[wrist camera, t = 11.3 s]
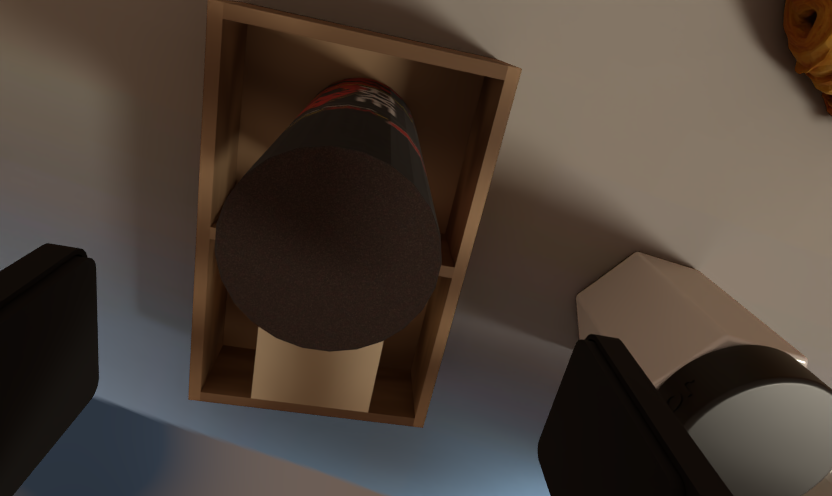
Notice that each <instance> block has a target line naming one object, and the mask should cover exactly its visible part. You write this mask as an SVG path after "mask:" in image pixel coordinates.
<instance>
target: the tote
mask: <svg viewBox="0 0 832 496" xmlns="http://www.w3.org/2000/svg"><path fill="white" fill-rule="evenodd" d="M521 71H522V69H521V68H518V67H516V66H513V65H511V64H508V63H505V62H503V61H500V60H497V59H493V58H489V57H484V56H480V55H475V54H471V53H466V52H462V51H457V50H453V49H448V48H444V47H440V46H435V45H431V44H426V43H422V42H417V41H413V40H408V39H404V38H399V37H395V36H390V35H386V34H382V33H377V32H373V31H368V30H364V29H359V28H355V27H350V26H346V25H341V24H337V23H332V22H328V21H324V20H319V19H315V18H310V17H306V16H301V15H297V14H292V13H288V12H283V11H279V10H275V9H270V8H266V7H261V6H257V5H252V4H248V3H243V2H238V1H227V0H208V6H207V27H206V47H205V68H204V89H203V109H202V130H201V151H200V171H199V192H198V213H197V233H196V254H195V274H194V295H193V316H192V336H191V357H190V378H189V398H188V400H197V401H205V402H213V403H222V404H230V405H238V406H247V407H255V408H263V409H272V410H280V411H288V412H297V413H305V414H313V415H321V416H330V417H338V418H346V419H355V420H363V421H371V422H380V423H388V424H396V425H405V426H413V427H421V428H423V426H424V422H425V418H426V415H427V411H428V407H429V404H430V400H431V397H432V393H433V389H434V386H435V382H436V379H437V375H438V371H439V368H440V364H441V360H442V357H443V353H444V350H445V346H446V342H447V339H448V335H449V331H450V328H451V324H452V321H453V317H454V313H455V310H456V306H457V302H458V299H459V295H460V292H461V288H462V284H463V281H464V277H465V273H466V270H467V266H468V263H469V259H470V255H471V252H472V248H473V244H474V241H475V237H476V234H477V230H478V226H479V223H480V219H481V215H482V212H483V208H484V205H485V201H486V197H487V194H488V190H489V186H490V183H491V179H492V176H493V172H494V168H495V165H496V161H497V157H498V154H499V150H500V147H501V143H502V139H503V136H504V132H505V129H506V125H507V121H508V118H509V114H510V110H511V107H512V103H513V100H514V96H515V92H516V89H517V85H518V81H519V78H520V74H521ZM358 77H362V78H367V79H372V80H377V81H379V82H381V83H383V84H385V85H387V86H388V87H390V88H392V89H393V90H394V91H395V92H396V93H397V94H398V95H399V96H400V97H402V99H403V100H404V102H405V103H406V105H407V106H408V108H409V109H410V111H411V114H412V117H413V120H414V123H415V126H416V131H417V135H418V140H419V144H420V148H421V153H422V157H423V161H424V166H425V170H426V174H427V179H428V183H429V187H430V192H431V196H432V200H433V205H434V209H435V214H436V218H437V222H438V227H439V231H440V235H441V255H442V264H441V268H440V272H439V276H438V280H437V284H436V288H435V290H434V291H433V293H432V295H431V297H430V298H429V300H428V302H427V304H426V305H425V307H424V309H423V310H422V311H421V312H420V313H419V314H418V315H417V316H416V317H415V318H414V319H413V320H412V321H411V322H410V323H409V324H408V325H407V326H406V327H405V328H404V329H402V330H401V331H399V332H397V333H396V334H394V335H392V336H391V337H389V338H387V339H386V340H384V342H383V346H382V351H381V356H380V360H379V365H378V369H377V374H376V378H375V383H374V387H373V392H372V397H371V401H370V406H369V410H368V413H367V412H359V411H351V410H343V409H335V408H327V407H318V406H310V405H302V404H294V403H286V402H278V401H269V400H261V399H253V398H251V393H252V383H253V374H254V365H255V355H256V346H257V337H258V326H257V325H255V324H254V323H253V322H252V321H251V320H250V319H249V318H248V317H247V316H246V315H245V314H244V313H243V312H242V311H241V310H240V309H239V308H238V306H237V305H236V304H235V303H234V302H233V300H232V298H231V296H230V294H229V293H228V291H227V289H226V287H225V285H224V284H223V282H222V280H221V277H220V273H219V269H218V265H217V261H216V257H215V235H216V224H217V221H218V219H219V216H220V213H221V210H222V208H223V205H224V202H225V200H226V198H227V197H228V195H229V194H230V193H231V191H232V190H233V189H234V188H235V186H236V185H237V184H238V182H239V181H240V180H241V178H242V177H243V176H244V175H245V174H246V172H247V171H248V170H249V169H250V168H251V167H252V166H253V165H254V164H255V163H256V161H257V160H258V159H259V158H260V157H261V156H262V155H263V154H264V153H265V152H266V150H267V149H268V148H269V147H270V146H271V145H272V144H273V143H274V142H275V141H276V139H277V138H278V137H279V136H280V135H281V134H282V133H283V132H284V131H285V130H286V128H287V127H288V126H289V125H290V124H291V123H292V122H293V121H294V120H295V118H296V117H297V116H298V115H299V114H300V113H301V112H302V111H303V110H304V109H305V107H306V106H307V105H308V104H309V103H310V102H311V101H312V100H313V99H314V98H315V96H316V95H317V94H318V93H319V92H320V91H322V90H323V89H325V88H326V87H327V86H329V85H330V84H332V83H334V82H337V81H340V80H343V79H345V78H358Z"/></svg>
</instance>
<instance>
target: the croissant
mask: <svg viewBox="0 0 832 496" xmlns="http://www.w3.org/2000/svg"><path fill="white" fill-rule="evenodd" d="M783 27H784V30H785V33H786V34H787V37H788V48H789V49H790V51H791V52H792V54H793V55H794V57H795V58H796V60H797V61H796V66H795V71H796V73H798V74H801V73H805V74H806V75H807V76H808V77H809V78H810V79H811V80H812V82H813V84H814V86H815V88H816V89H818V90H820V91H822V92H823V93H822V97H823V98H824V101H825V105H826V106H827V112H828V113H829V114H830V115H831V116H832V0H786V2H785V8H784V22H783Z"/></svg>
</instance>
